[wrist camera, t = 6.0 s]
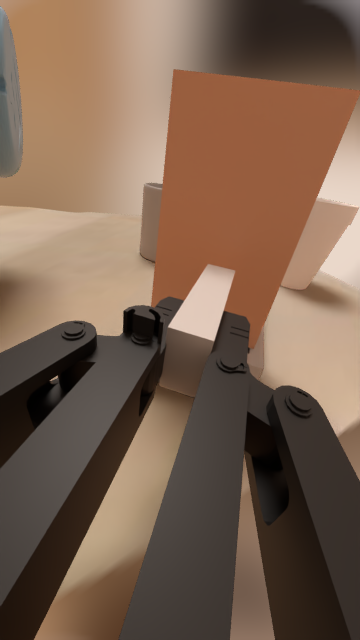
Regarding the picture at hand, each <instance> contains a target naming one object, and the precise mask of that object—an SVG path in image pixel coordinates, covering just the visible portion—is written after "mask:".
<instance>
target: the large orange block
mask: <svg viewBox="0 0 360 640" xmlns="http://www.w3.org/2000/svg"><path fill="white" fill-rule="evenodd" d="M359 95H360V90H352V89H343V88H334V87H325V86H317V85H307V84H299V83H290V82H281V81H273V80H264V79H255V78H245V77H237V76H228V75H220V74H219V75H218V74H211V73H202V72H192V71H184V70H175V69H174V71H173V82H172V93H171V102H170V113H169V124H168V134H167V145H166V155H165V165H164V177H163V187H162V197H161V208H160V218H159V229H158V239H157V250H156V260H155V271H154V281H153V292H152V303H151V307H153V308H154V307H156V305H157V304H158V303H159V301H160V300H162V299H164V298H166V297H169V296H170V297H173V298H177V299H180V300H184V301H185V299H186V298H187V296H188V294H189V293H190V291H191V290H192V288H193V287H194V285H195V283H196V282H197V280H198V279H199V277H200V276H201V274H202V273H203V271H204V269H205V268H206V266H207V265H208V264H211V265H215V266H219V267H223V268H227V269H231V270H235V274H234V277H233V281H232V284H231V288H230V291H229V295H228V298H227V301H226V305H225V308H224V311H227V312H230V313H234V314H237V315H241V316H245V317H246V318H247V319H248V321H249V323H250V332H249V344H248V347H249V348H252V349H254V347H255V345H256V343H257V340H258V338H259V335H260V333H261V331H262V328H263V326H264V323H265V321H266V319H267V316H268V314H269V311H270V309H271V306H272V304H273V302H274V299H275V297H276V294H277V292H278V290H279V287H280V285H281V282H282V280H283V278H284V275H285V273H286V270H287V268H288V266H289V263H290V261H291V258H292V256H293V254H294V251H295V249H296V246H297V244H298V242H299V239H300V237H301V234H302V232H303V230H304V227H305V225H306V222H307V220H308V218H309V215H310V213H311V210H312V208H313V206H314V203H315V201H316V198H317V196H318V194H319V191H320V189H321V186H322V184H323V182H324V179H325V177H326V174H327V172H328V170H329V167H330V165H331V162H332V160H333V158H334V155H335V153H336V150H337V148H338V145H339V143H340V141H341V138H342V136H343V134H344V131H345V129H346V126H347V124H348V121H349V119H350V117H351V114H352V112H353V109H354V107H355V105H356V102H357V100H358V97H359Z"/></svg>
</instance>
